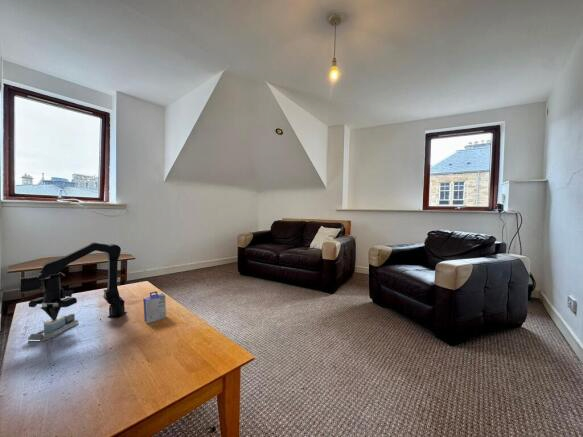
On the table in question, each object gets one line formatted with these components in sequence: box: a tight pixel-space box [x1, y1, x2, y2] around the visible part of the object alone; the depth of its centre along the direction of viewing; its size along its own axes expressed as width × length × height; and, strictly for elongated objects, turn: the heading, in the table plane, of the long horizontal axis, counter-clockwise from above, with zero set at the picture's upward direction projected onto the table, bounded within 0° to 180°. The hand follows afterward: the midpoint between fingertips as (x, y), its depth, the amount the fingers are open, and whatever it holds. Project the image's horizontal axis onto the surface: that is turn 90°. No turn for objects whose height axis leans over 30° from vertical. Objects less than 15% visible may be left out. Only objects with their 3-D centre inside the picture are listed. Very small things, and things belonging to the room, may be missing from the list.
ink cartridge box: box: [142, 291, 167, 324], centre depth 132 cm, size 10×6×14 cm, turn 134°
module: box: [43, 316, 65, 333], centre depth 119 cm, size 4×6×5 cm
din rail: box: [27, 313, 79, 342], centre depth 119 cm, size 8×17×6 cm, turn 178°
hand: (54, 319), depth 119 cm, fingers closed, pressing on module
